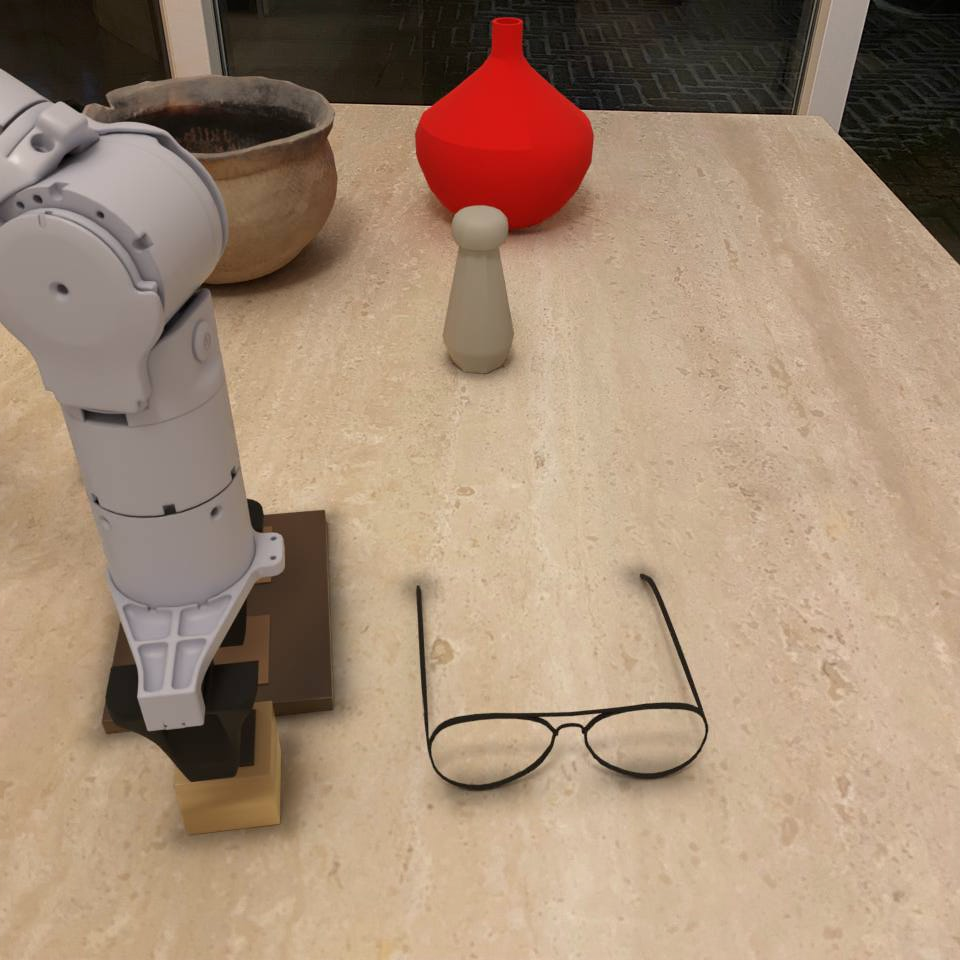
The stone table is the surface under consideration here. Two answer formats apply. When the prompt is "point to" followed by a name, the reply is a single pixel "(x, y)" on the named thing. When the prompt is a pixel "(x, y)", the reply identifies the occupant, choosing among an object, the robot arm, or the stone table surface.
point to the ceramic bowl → (246, 158)
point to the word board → (281, 623)
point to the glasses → (536, 716)
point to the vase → (505, 138)
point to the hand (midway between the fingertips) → (218, 703)
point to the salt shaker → (478, 292)
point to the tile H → (238, 782)
